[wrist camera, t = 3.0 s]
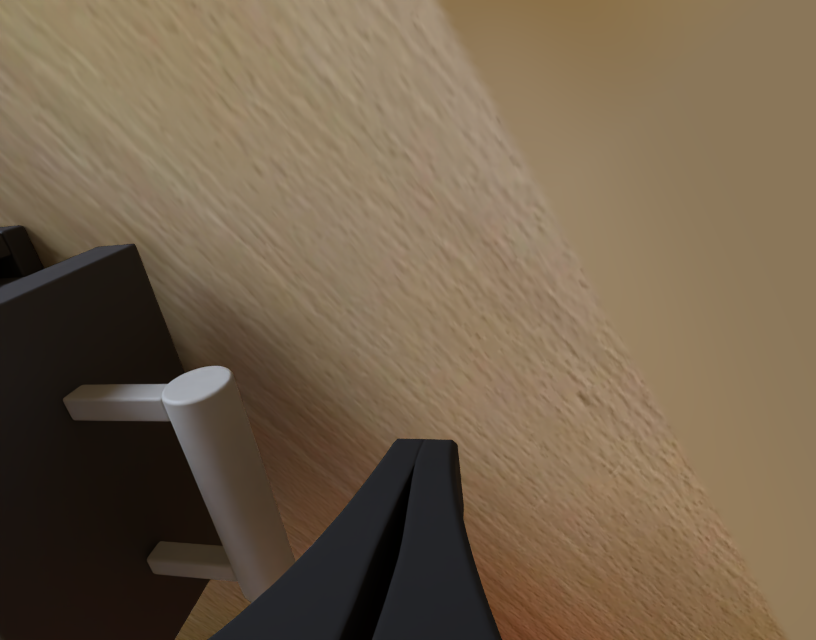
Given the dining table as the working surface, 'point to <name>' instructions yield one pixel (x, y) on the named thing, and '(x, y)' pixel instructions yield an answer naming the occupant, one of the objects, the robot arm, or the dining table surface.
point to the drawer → (119, 463)
